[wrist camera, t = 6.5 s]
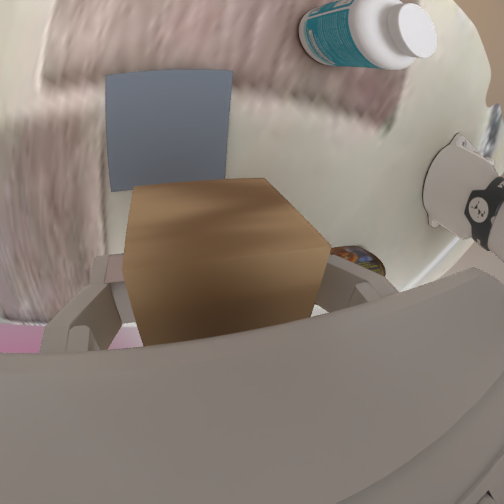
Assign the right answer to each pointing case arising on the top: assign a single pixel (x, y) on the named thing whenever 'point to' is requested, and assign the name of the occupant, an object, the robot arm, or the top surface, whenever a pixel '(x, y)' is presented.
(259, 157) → the top surface
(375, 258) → the tin
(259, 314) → the cube
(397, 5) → the pill bottle
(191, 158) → the mat
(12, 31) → the top surface
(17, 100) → the top surface
